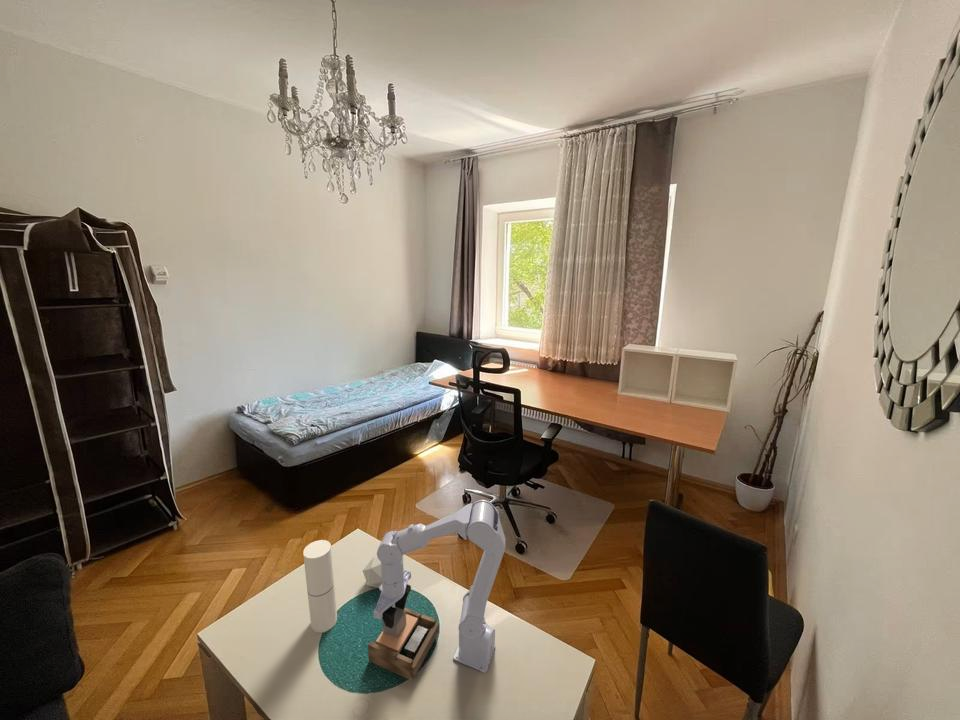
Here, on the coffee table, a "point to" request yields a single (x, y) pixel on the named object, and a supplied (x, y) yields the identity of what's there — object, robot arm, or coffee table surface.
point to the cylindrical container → (320, 585)
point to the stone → (396, 623)
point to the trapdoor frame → (398, 661)
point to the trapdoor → (405, 638)
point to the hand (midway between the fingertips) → (394, 618)
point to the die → (373, 573)
